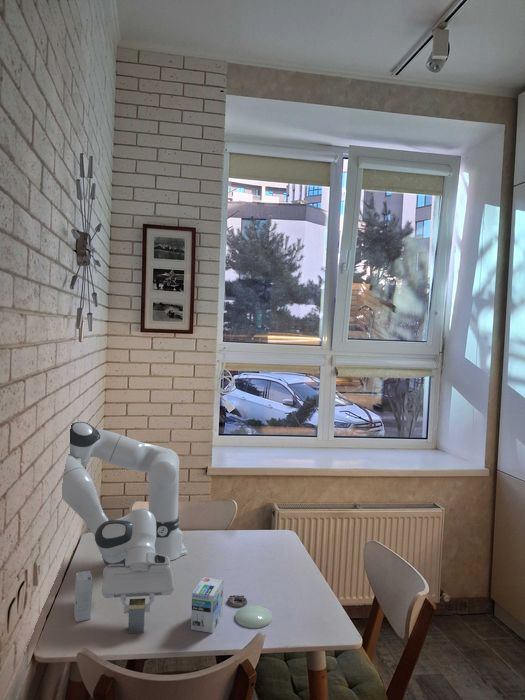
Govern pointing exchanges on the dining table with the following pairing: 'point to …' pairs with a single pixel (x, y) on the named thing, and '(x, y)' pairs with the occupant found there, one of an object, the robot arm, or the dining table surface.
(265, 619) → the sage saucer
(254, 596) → the dining table surface
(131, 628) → the tea tin
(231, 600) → the donut
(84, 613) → the skincare box
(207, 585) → the light bulb box
